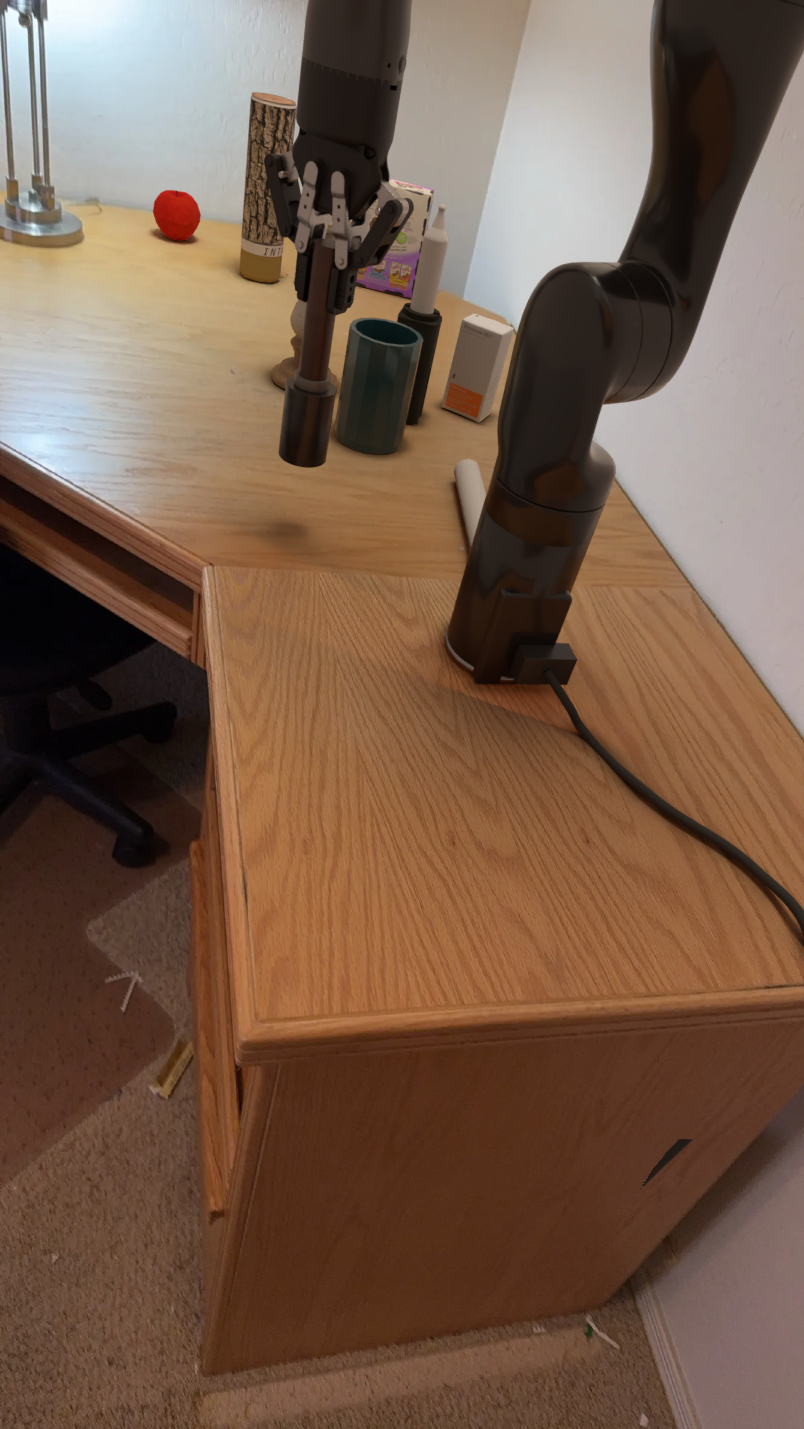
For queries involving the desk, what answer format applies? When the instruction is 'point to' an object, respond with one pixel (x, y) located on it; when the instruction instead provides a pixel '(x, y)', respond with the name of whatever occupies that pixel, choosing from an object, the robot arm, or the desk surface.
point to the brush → (312, 372)
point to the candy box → (400, 245)
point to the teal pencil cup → (377, 385)
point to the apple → (176, 214)
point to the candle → (426, 308)
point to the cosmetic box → (477, 367)
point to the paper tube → (264, 186)
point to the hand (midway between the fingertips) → (322, 305)
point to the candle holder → (298, 340)
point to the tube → (470, 494)
